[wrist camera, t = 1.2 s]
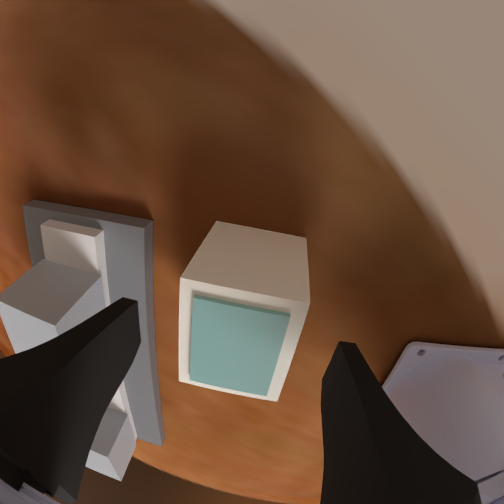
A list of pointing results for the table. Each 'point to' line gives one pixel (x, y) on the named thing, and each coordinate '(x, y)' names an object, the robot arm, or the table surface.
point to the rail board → (122, 285)
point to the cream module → (242, 310)
